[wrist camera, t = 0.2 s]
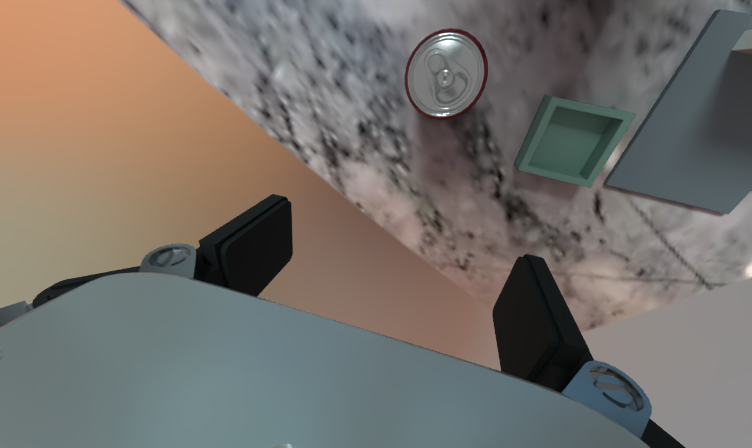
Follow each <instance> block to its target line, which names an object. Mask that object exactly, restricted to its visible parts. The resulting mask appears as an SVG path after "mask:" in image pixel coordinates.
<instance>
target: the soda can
mask: <svg viewBox="0 0 752 448" xmlns="http://www.w3.org/2000/svg"><path fill="white" fill-rule="evenodd" d="M487 75H488V62H487V57H486V54H485V51H484V49H483V47H482V45H481V44H480V42H479V41H478V40H477V39H476V38H475V37H474V36H472V35H471V34H470V33H468V32H466V31H463V30H460V29H453V28H449V29H442V30H439V31H436V32H434V33H432V34H430V35H429V36H427V37H426V38H424V39H423V40H422V41H421V42H420V43H419V44H418V45H417V47H416V48H415V49H414V51H413V52H412V54H411V56H410V58H409V60H408V63H407V66H406V72H405V88H406V93H407V95H408V98H409V100H410V102H411V104H412V105H413V107H414V108H415V109H416V110H417V111H418V112H419V113H421V114H422V115H424V116H425V117H428V118H430V119H435V120H449V119H453V118H456V117H458V116H460V115H462V114H464V113H465V112H467V111H468V110H469V109H470V108H471V107H472V106H473V105H474V104H475V103H476V102H477V100H478V99H479V98H480V96H481V94H482V92H483V90H484V88H485V84H486V81H487Z"/></svg>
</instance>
